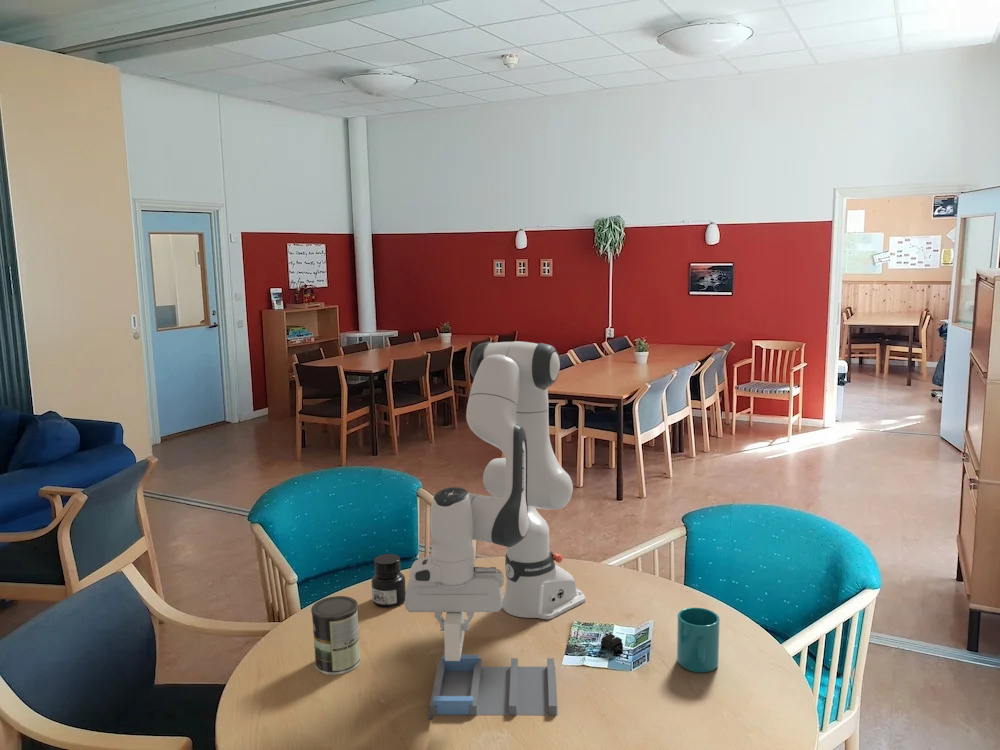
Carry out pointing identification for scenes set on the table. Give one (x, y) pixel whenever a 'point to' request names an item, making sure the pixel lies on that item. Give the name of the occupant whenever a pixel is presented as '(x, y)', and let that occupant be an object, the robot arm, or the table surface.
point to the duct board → (493, 689)
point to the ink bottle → (388, 582)
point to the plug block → (453, 635)
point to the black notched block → (612, 644)
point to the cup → (698, 639)
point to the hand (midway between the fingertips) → (454, 629)
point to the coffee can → (336, 635)
